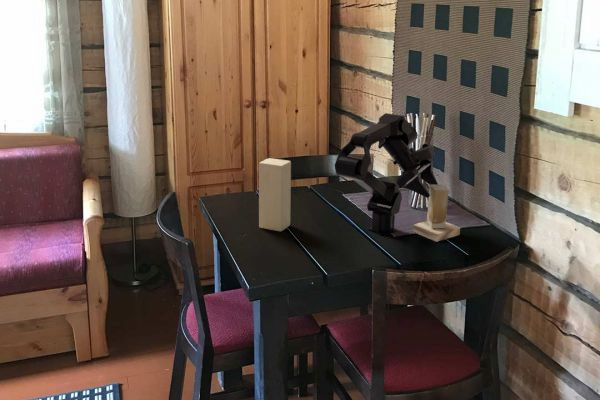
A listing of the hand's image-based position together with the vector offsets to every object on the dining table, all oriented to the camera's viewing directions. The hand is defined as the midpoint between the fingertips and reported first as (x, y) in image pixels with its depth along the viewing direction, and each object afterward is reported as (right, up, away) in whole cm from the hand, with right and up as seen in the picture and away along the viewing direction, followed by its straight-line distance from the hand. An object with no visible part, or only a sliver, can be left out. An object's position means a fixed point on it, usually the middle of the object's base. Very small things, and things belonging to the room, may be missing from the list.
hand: (433, 192), depth 206 cm
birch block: (+2, -13, +4) cm, 14 cm away
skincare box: (+1, -10, +3) cm, 11 cm away
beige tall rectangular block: (-48, -11, +9) cm, 50 cm away
